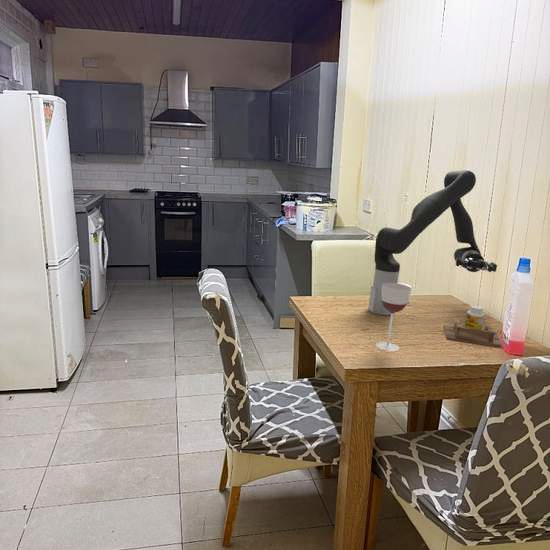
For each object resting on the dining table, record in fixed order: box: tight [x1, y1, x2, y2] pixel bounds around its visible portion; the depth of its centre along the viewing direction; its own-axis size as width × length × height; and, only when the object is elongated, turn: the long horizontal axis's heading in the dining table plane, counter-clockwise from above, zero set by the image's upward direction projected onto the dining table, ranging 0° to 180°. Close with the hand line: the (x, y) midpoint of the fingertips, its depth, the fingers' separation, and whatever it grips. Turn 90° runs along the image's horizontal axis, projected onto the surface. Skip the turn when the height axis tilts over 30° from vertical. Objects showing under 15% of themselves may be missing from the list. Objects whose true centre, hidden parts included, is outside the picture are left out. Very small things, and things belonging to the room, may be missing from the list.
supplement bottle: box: [464, 305, 485, 330], centre depth 178 cm, size 6×6×10 cm
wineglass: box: [375, 282, 410, 352], centre depth 160 cm, size 8×9×20 cm
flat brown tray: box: [443, 319, 503, 348], centre depth 178 cm, size 14×18×4 cm
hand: (478, 267), depth 184 cm, fingers open, 8 cm apart
